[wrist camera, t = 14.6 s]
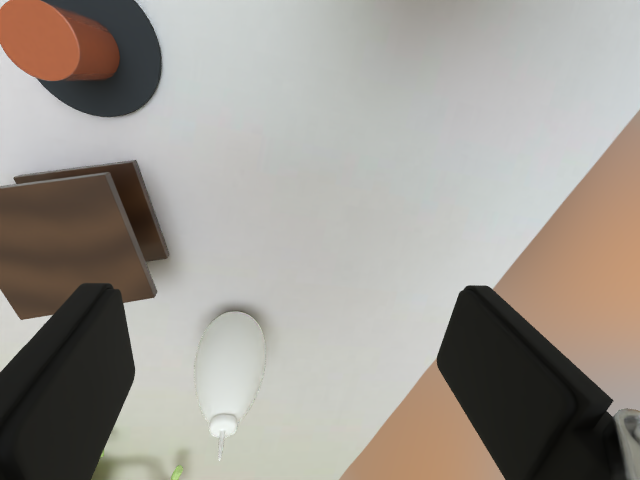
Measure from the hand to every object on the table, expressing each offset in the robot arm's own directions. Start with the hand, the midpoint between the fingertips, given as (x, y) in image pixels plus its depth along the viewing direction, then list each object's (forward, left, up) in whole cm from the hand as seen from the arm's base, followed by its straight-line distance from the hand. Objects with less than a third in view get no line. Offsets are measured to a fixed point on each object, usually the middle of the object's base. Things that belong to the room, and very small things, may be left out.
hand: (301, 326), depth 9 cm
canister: (-7, -16, -28) cm, 33 cm away
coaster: (-7, -16, -28) cm, 33 cm away
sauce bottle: (+23, -4, -28) cm, 37 cm away
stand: (+9, -18, -28) cm, 35 cm away
